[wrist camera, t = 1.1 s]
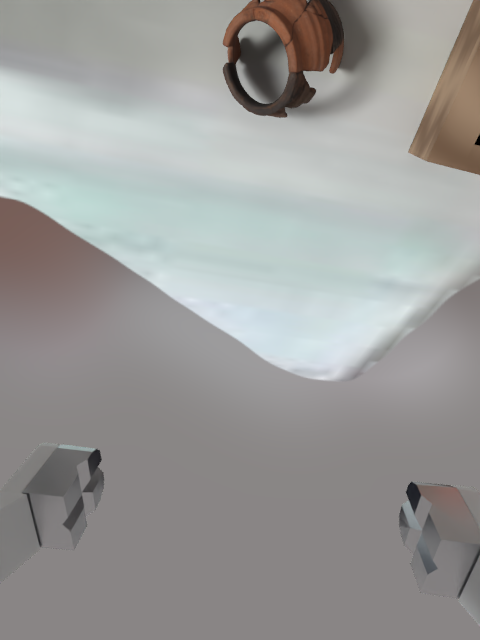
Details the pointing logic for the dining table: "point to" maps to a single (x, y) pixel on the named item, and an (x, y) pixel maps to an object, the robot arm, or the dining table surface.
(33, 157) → the dining table surface
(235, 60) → the pottery mug
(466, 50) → the walnut plug panel
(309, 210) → the dining table surface
